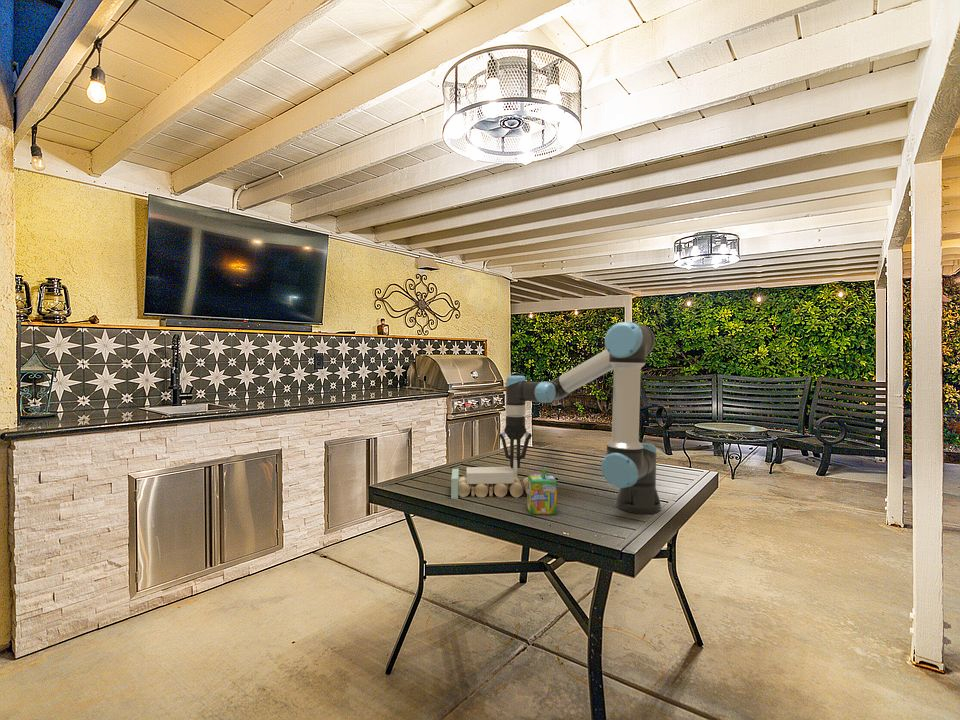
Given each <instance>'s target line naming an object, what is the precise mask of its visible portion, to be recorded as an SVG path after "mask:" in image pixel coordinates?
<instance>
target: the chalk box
mask: <svg viewBox="0 0 960 720" xmlns="http://www.w3.org/2000/svg"><path fill="white" fill-rule="evenodd" d="M547 470H548V469H547V468H546V466H543V468H542V472H541V474H533V473H532V474H531V473H528V474H527V477H528V486H527V493H526V507H527V510H528V512H529V513H530V515H557V514H558V513H557V505H558V504H557V499H558V480H557V479H556V477H555V475H554V474H547Z"/></svg>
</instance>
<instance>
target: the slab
mask: <svg viewBox="0 0 960 720" xmlns="http://www.w3.org/2000/svg"><path fill="white" fill-rule="evenodd" d="M466 477H467V484H470V485H471V484H487V485H488V484H492V485H493V484H501V483H506V484H508V483H514V471H513V468H511V467H510V466H480V467H479V466H475V467H473V466H472V467H467V466H466Z"/></svg>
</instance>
